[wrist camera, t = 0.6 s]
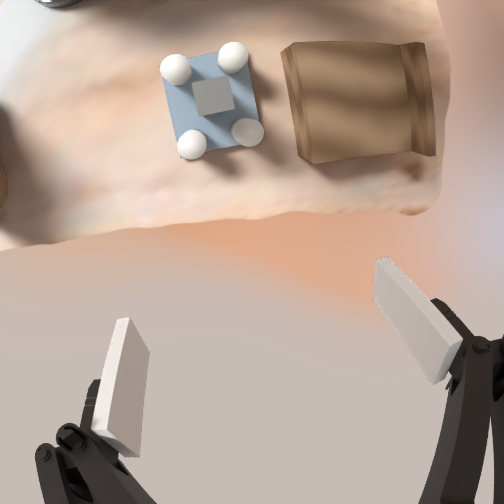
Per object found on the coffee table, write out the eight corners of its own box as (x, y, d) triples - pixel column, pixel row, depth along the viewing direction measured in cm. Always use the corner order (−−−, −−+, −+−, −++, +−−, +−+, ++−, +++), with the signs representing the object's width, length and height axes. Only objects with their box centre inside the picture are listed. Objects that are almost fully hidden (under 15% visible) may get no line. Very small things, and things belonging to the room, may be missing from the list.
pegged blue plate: (161, 67, 29) (139, 46, 18) (242, 49, 30) (260, 21, 19) (182, 156, 35) (170, 178, 24) (260, 139, 35) (285, 152, 24)
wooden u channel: (280, 52, 30) (303, 35, 22) (382, 51, 31) (424, 43, 22) (298, 155, 37) (325, 170, 28) (394, 143, 37) (435, 155, 29)
